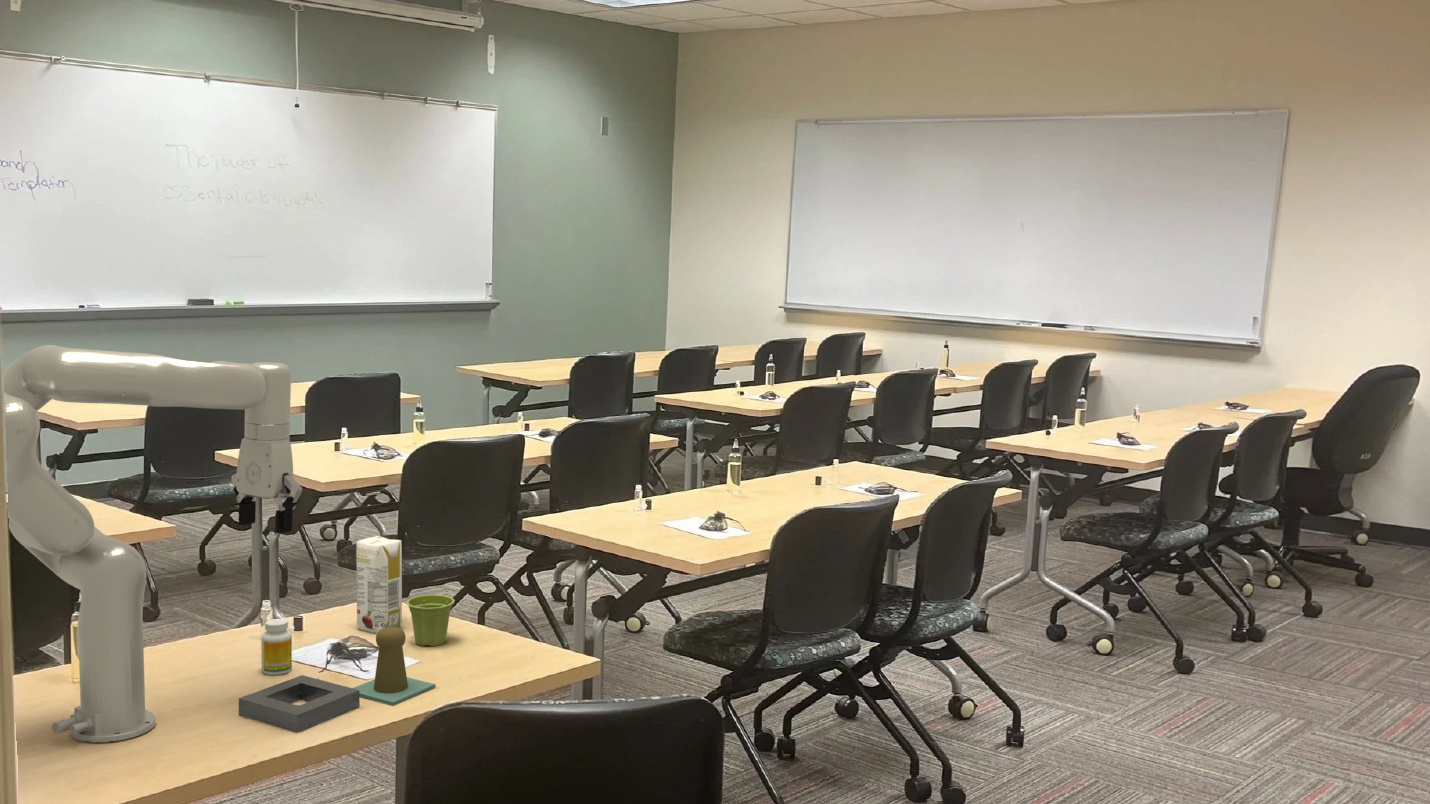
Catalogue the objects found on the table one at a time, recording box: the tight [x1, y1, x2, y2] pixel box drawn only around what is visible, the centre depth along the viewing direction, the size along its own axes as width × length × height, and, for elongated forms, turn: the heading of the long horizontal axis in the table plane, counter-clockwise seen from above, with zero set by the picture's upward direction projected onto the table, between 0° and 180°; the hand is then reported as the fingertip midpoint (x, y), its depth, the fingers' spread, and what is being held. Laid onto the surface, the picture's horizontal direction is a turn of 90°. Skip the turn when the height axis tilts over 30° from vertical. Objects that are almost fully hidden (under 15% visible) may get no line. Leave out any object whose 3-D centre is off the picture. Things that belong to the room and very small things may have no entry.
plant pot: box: [406, 594, 455, 647], centre depth 253 cm, size 9×9×9 cm
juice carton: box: [355, 535, 403, 635], centre depth 261 cm, size 8×9×19 cm
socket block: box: [238, 674, 361, 733], centre depth 215 cm, size 14×14×3 cm
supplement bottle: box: [260, 618, 293, 676], centre depth 234 cm, size 5×5×10 cm
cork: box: [374, 627, 408, 693], centre depth 225 cm, size 6×6×11 cm
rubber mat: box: [352, 676, 436, 706], centre depth 226 cm, size 11×11×1 cm
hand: (265, 527), depth 221 cm, fingers open, 9 cm apart
